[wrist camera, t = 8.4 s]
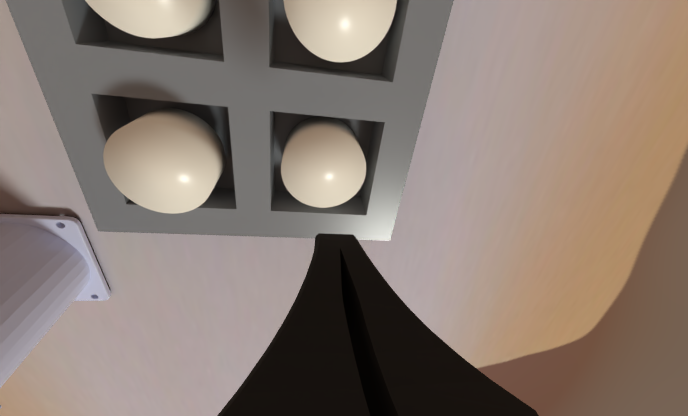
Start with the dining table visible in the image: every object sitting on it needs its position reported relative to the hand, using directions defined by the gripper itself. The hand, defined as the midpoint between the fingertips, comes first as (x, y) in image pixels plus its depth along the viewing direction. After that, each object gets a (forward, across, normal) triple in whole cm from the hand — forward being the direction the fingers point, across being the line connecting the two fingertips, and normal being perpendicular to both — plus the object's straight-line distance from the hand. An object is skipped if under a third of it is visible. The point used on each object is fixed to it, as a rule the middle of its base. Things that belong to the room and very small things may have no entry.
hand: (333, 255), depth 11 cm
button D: (+8, +8, 0) cm, 12 cm away
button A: (+10, 0, -8) cm, 12 cm away
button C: (+10, 0, 0) cm, 10 cm away
